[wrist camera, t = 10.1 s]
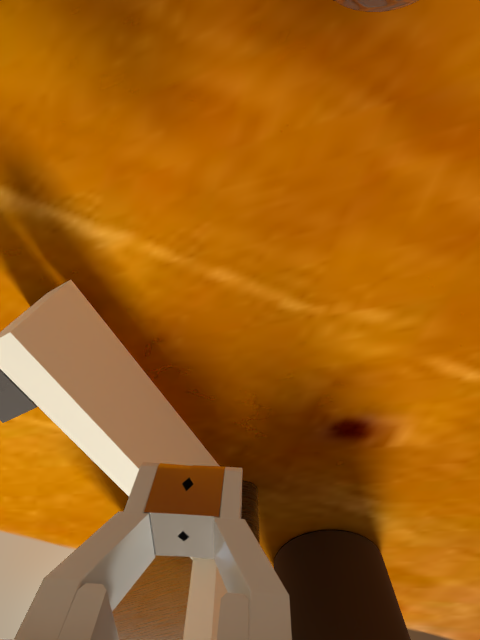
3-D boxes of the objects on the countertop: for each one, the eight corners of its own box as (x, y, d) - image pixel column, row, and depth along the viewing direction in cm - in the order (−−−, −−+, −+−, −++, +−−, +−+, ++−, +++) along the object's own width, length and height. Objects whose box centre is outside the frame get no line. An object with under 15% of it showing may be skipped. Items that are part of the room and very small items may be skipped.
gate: (238, 489, 26) (233, 689, 17) (219, 496, 27) (203, 695, 17) (71, 279, 19) (-98, 425, 10) (47, 292, 19) (-137, 446, 10)
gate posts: (263, 496, 29) (275, 777, 16) (144, 535, 31) (76, 804, 19) (96, 272, 20) (-136, 498, 8) (-47, 351, 23) (-390, 614, 11)
